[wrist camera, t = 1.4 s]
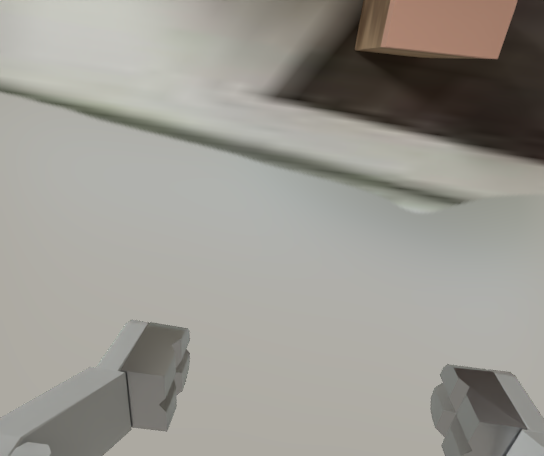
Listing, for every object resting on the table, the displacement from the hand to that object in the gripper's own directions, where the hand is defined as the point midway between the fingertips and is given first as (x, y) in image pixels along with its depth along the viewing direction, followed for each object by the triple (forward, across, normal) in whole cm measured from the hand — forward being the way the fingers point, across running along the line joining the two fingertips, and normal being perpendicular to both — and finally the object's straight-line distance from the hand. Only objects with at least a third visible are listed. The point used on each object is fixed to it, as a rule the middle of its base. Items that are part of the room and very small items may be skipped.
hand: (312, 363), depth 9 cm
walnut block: (+29, -6, -11) cm, 32 cm away
